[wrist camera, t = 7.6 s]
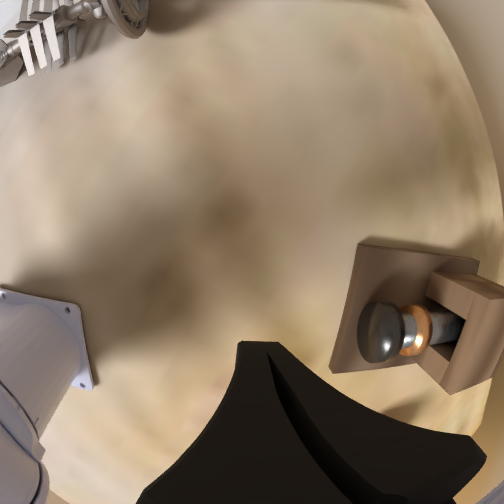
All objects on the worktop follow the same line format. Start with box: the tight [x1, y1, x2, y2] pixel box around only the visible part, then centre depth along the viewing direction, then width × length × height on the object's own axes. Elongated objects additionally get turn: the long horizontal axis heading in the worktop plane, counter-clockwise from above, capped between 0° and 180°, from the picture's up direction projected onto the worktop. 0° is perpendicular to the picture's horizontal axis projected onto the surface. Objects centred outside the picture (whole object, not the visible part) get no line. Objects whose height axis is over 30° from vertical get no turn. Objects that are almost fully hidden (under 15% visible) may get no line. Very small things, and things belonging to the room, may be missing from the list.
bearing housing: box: [329, 244, 504, 395], centre depth 17 cm, size 14×10×8 cm
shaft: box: [357, 302, 466, 363], centre depth 17 cm, size 12×4×4 cm, turn 83°
